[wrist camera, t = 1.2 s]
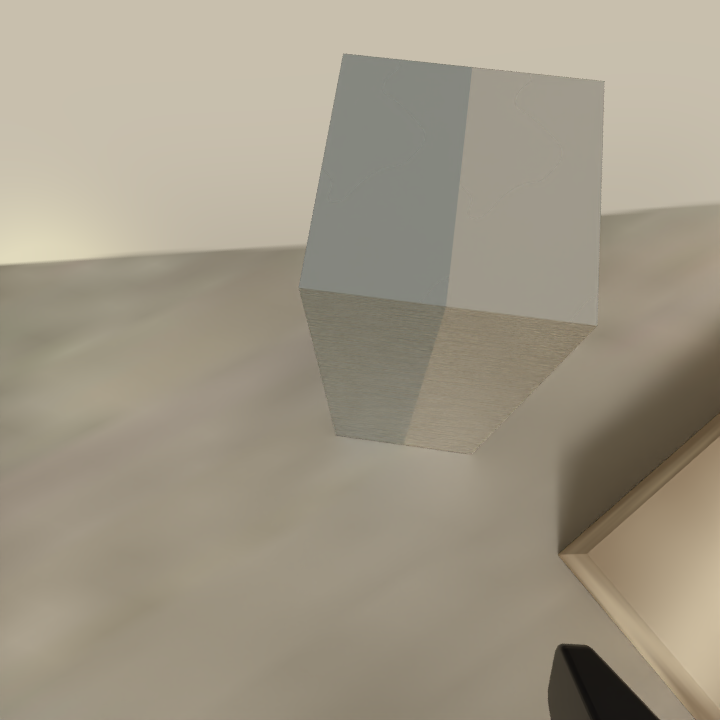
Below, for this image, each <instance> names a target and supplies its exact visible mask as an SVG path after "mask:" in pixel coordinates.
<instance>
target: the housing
mask: <svg viewBox="0 0 720 720" xmlns="http://www.w3.org/2000/svg"><path fill="white" fill-rule="evenodd" d="M603 112H604V81H597V80H587V79H578V78H569V77H559V76H549V75H540V74H531V73H520V72H512V71H503V70H493V69H483V68H473V67H465V66H455V65H446V64H436V63H427V62H418V61H408V60H398V59H389V58H379V57H369V56H361V55H352V54H343V58H342V63H341V69H340V75H339V79H338V84H337V89H336V95H335V100H334V105H333V110H332V116H331V121H330V126H329V132H328V137H327V142H326V147H325V152H324V158H323V163H322V168H321V173H320V179H319V184H318V189H317V194H316V200H315V205H314V210H313V215H312V221H311V226H310V231H309V237H308V242H307V247H306V252H305V257H304V263H303V268H302V273H301V278H300V284H299V291H300V295H301V299H302V302H303V306H304V310H305V314H306V318H307V322H308V326H309V330H310V334H311V338H312V342H313V346H314V350H315V354H316V358H317V362H318V366H319V370H320V374H321V378H322V381H323V385H324V389H325V393H326V397H327V401H328V405H329V409H330V413H331V417H332V421H333V425H334V429H335V433H336V435H337V436H344V437H351V438H359V439H366V440H373V441H380V442H387V443H394V444H401V445H408V446H415V447H423V448H430V449H437V450H444V451H451V452H458V453H465V454H472V453H473V452H474V451H475V450H476V449H477V448H478V447H479V446H480V445H481V444H482V443H483V442H484V441H485V440H486V439H487V438H488V437H489V436H490V435H491V434H492V433H493V432H494V431H495V430H496V429H497V428H498V427H499V426H500V425H501V424H502V423H503V422H504V421H505V420H506V419H507V418H508V417H509V416H510V415H511V414H512V413H513V412H514V411H515V409H516V408H517V407H518V406H519V405H520V404H521V403H522V402H523V401H524V400H525V399H526V398H527V397H528V396H529V395H530V394H531V393H532V392H533V391H534V390H535V389H536V388H537V387H538V386H539V385H540V384H541V383H542V382H543V381H544V380H545V379H546V378H547V377H548V376H549V375H550V374H551V373H552V372H553V371H554V370H555V369H556V368H557V367H558V366H559V364H560V363H561V362H562V361H563V360H564V359H565V358H566V357H567V356H568V355H569V354H570V353H571V352H572V351H573V350H574V349H575V348H576V347H577V346H578V345H579V344H580V343H581V342H582V341H583V340H584V339H585V338H586V337H587V336H588V335H589V334H590V333H591V332H592V331H593V330H594V329H595V328H596V327H597V323H598V287H599V252H600V217H601V182H602V180H601V179H602V147H603Z"/></svg>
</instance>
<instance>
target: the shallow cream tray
mask: <svg viewBox="0 0 720 720" xmlns="http://www.w3.org/2000/svg"><path fill="white" fill-rule="evenodd" d="M558 556H559V557H560V558H561V559H562V560H563V562H564V563H565V564H566V565H567V566H568V567H569V569H570V570H571V571H572V572H573V573H574V575H575V576H576V577H577V578H578V579H579V581H580V582H581V583H582V584H583V585H584V587H585V588H586V589H587V590H588V591H589V593H590V594H591V595H592V596H593V597H594V599H595V600H596V601H597V602H598V603H599V605H600V606H601V607H602V608H603V609H604V611H605V612H606V613H607V614H608V615H609V617H610V618H611V619H612V620H613V621H614V622H615V624H616V625H617V626H618V627H619V628H620V630H621V631H622V632H623V633H624V634H625V636H626V637H627V638H628V639H629V640H630V642H631V643H632V644H633V645H634V646H635V648H636V649H637V650H638V651H639V652H640V654H641V655H642V656H643V657H644V658H645V660H646V661H647V662H648V663H649V664H650V666H651V667H652V668H653V669H654V670H655V672H656V673H657V674H658V675H659V676H660V677H661V679H662V680H663V681H664V682H665V683H666V685H667V686H668V687H669V688H670V689H671V691H672V692H673V693H674V694H675V695H676V697H677V698H678V699H679V700H680V701H681V703H682V704H683V705H684V706H685V707H686V709H687V710H688V711H689V712H690V713H691V715H692V716H693V717H694V718H695V719H696V720H720V413H719V414H718V415H717V416H715V417H714V418H713V419H712V420H711V421H710V422H709V423H707V424H706V425H705V426H704V427H703V428H702V429H701V430H699V431H698V432H697V433H696V434H695V435H694V436H693V437H691V438H690V439H689V440H688V441H687V442H686V443H685V444H684V445H682V446H681V447H680V448H679V449H678V450H677V451H676V452H674V453H673V454H672V455H671V456H670V457H669V458H668V459H666V460H665V461H664V462H663V463H662V464H661V465H660V466H658V467H657V468H656V469H655V470H654V471H653V472H652V473H650V474H649V475H648V476H647V477H646V478H645V479H644V480H642V481H641V482H640V483H639V484H638V485H637V486H636V487H634V488H633V489H632V490H631V491H630V492H629V493H628V494H627V495H625V496H624V497H623V498H622V499H621V500H620V501H619V502H617V503H616V504H615V505H614V506H613V507H612V508H611V509H609V510H608V511H607V512H606V513H605V514H604V515H603V516H601V517H600V518H599V519H598V520H597V521H596V522H595V523H593V524H592V525H591V526H590V527H589V528H588V529H587V530H585V531H584V532H583V533H582V534H581V535H580V536H579V537H577V538H576V539H575V540H574V541H573V542H572V543H571V544H569V545H568V546H567V547H566V548H565V549H564V550H563V551H562V552H560V553H559V554H558Z"/></svg>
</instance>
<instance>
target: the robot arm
mask: <svg viewBox="0 0 720 720" xmlns="http://www.w3.org/2000/svg"><path fill="white" fill-rule="evenodd" d="M548 704H549V711H550V717H551V720H660V719H659V718H658V717H657V716H656V715H655V714H654V713H653V712H652V711H651V710H650V709H649V708H648V706H647V705H646V704H645V703H644V702H643V701H642V700H641V699H640V698H639V697H638V696H637V695H636V694H635V693H634V692H633V691H632V690H631V689H630V688H629V687H628V686H627V684H626V683H625V682H624V681H623V680H622V679H621V678H620V677H619V676H618V675H617V674H616V673H615V672H614V671H613V670H612V669H611V668H610V667H609V666H608V665H607V663H606V662H605V661H604V660H603V659H602V658H601V657H600V656H599V655H598V654H597V653H596V652H595V651H594V650H593V649H592V648H590V647H589V646H587V645H578V644H560V645H558V647H557V648H556V651H555V655H554V660H553V666H552V671H551V676H550V681H549V687H548Z"/></svg>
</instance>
